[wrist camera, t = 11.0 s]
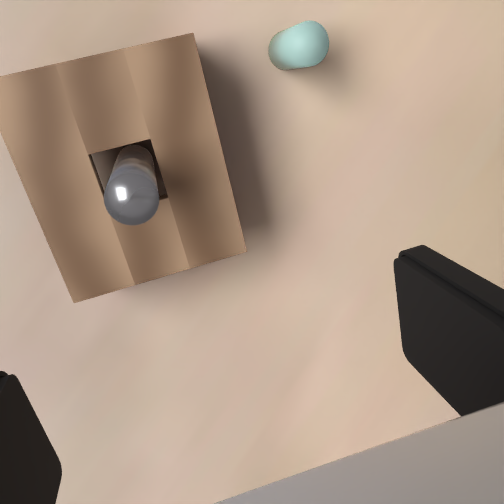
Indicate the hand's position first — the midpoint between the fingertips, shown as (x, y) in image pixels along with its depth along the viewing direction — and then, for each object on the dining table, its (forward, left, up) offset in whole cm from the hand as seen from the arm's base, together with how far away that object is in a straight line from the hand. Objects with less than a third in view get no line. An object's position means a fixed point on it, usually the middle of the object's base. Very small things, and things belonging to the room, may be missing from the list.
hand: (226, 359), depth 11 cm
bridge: (+2, -2, -25) cm, 25 cm away
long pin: (+2, -2, -25) cm, 25 cm away
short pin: (-11, -7, -25) cm, 28 cm away
